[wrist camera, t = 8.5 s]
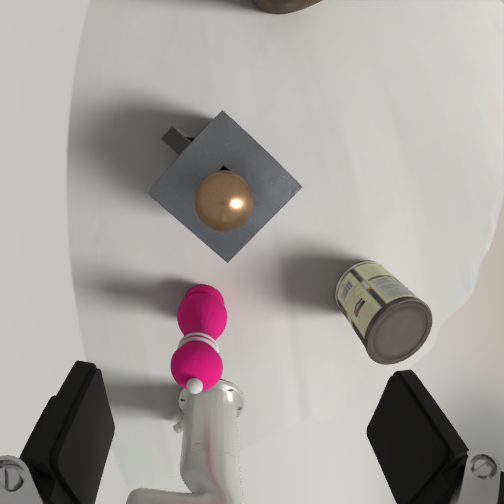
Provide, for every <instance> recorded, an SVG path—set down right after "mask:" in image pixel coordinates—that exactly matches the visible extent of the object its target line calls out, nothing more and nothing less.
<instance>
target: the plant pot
mask: <svg viewBox="0 0 504 504" xmlns="http://www.w3.org/2000/svg"><path fill="white" fill-rule="evenodd" d="M252 1H253V2H254V3H255V4H256V5H257V6H258V7H259V8H260V9H262V10H264V11H266V12H268V13H272V14H287V13H291V12H295V11H299V10H302V9H304V8H307V7H309V6H312V5H314V4H316V3H318V2H320V1H322V0H252Z"/></svg>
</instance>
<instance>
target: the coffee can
mask: <svg viewBox="0 0 504 504" xmlns="http://www.w3.org/2000/svg"><path fill="white" fill-rule="evenodd" d="M335 298H336V302H337V305H338V307H339V308H340V309H341V310H342V312H343V313H344V315H345V317H346V318H347V320H348V321H349V323H350V324H351V326H352V327H353V329H354V330H355V332H356V334H357V335H358V337H359V338H360V340H361V341H362V343H363V345H364V346H365V348H366V351H367V353H368V355H369V356H370V358H371V359H372V360H374V361H375V362H377V363H379V364H385V365H388V364H395V363H398V362H401V361H403V360H405V359H407V358H409V357H410V356H412V355H413V354H414V353H415V352H416V351H418V350H419V348H420V347H421V346H422V345H423V344H424V342H425V341H426V339H427V337H428V335H429V333H430V330H431V327H432V313H431V310H430V308H429V307H428V305H427V304H426V303H424V302H423V301H422V300H420V299H419V298H418V297H417V296H415V295H414V294H413V293H412V292H411V291H410V290H409V289H408V288H406V287H405V286H404V285H403V284H402V283H401V282H400V281H399V280H397V279H396V278H395V277H394V276H393V275H392V274H391V273H389V272H388V271H387V270H386V269H385V268H384V267H383V266H382V265H381V264H379V263H377V262H373V261H363V262H360V263H357V264H355V265H353V266H351V267H350V268H349V269H347V270H346V271H345V272H344V273H343V275H342V276H341V278H340V279H339V281H338V283H337V286H336V291H335Z"/></svg>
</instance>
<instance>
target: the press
mask: <svg viewBox="0 0 504 504" xmlns="http://www.w3.org/2000/svg"><path fill="white" fill-rule="evenodd" d="M162 140H164V141H165V142H166V143H167V144H168V145H169V146H170V147H171V148H172V149H174V150H175V151H176V152H177V153H178V154H179V155H180V156H179V157H178V158H177V159H176V160H175V161H174V163H173V164H172V165H171V166H170V167H169V168H168V169H167V171H166V172H165V173H164V174H163V175H162V176H161V178H160V179H159V180H158V181H157V182H156V183H155V185H154V186H153V187H152V188H151V189H150V191H149V192H148V194H149V195H150V196H151V197H152V198H154V199H155V200H156V201H157V202H158V203H159V204H160V205H161V206H163V207H164V208H165V209H166V210H167V211H168V212H169V213H171V214H172V215H173V216H174V217H175V218H176V219H177V220H179V221H180V222H181V223H182V224H183V225H184V226H185V227H187V228H188V229H189V230H190V231H191V232H192V233H194V234H195V235H196V236H197V237H198V238H199V239H200V240H202V241H203V242H204V243H205V244H206V245H207V246H209V247H210V248H211V249H212V250H213V251H214V252H216V253H217V254H218V255H219V256H220V257H221V258H223V259H224V260H225V261H226V262H227V263H228V262H229V261H230V260H231V259H232V258H233V257H234V256H235V255H236V254H237V253H238V252H239V251H240V250H241V249H242V248H243V247H244V246H245V245H246V244H247V243H248V242H249V241H250V240H251V239H252V237H253V236H254V235H255V234H256V233H257V232H258V231H259V230H260V229H261V228H262V227H263V226H264V225H265V224H266V223H267V222H268V221H269V220H270V219H271V218H272V217H273V216H274V215H275V214H276V213H277V212H278V211H279V210H280V209H281V208H282V207H283V206H284V205H285V204H286V203H287V202H288V201H289V200H290V199H291V198H292V197H293V196H294V195H295V194H296V193H297V192H298V191H299V190H300V189H301V188H302V186H301V185H300V184H299V183H298V182H297V181H296V180H295V179H294V178H293V177H292V176H291V175H290V174H289V173H288V172H287V171H286V170H285V169H284V168H283V167H282V166H281V165H280V164H279V163H278V162H277V161H276V160H275V159H274V158H273V157H272V156H271V155H270V154H269V153H268V152H267V151H266V150H265V149H264V148H263V147H262V146H261V145H260V144H258V143H257V142H256V141H255V140H254V139H253V138H252V137H251V136H250V135H249V134H248V133H247V132H246V131H245V130H244V129H242V128H241V127H240V126H239V125H238V124H237V123H236V122H235V121H234V120H233V119H232V118H230V117H229V116H228V115H227V114H226V113H225V112H224V111H223V110H222V111H221V112H220V113H219V114H218V115H217V116H216V117H215V118H214V119H213V120H212V121H211V122H210V124H209V125H208V126H207V127H206V128H205V129H204V130H203V131H202V132H201V133H200V134H199V135H198V136H197V137H196V138H194V137H193V136H192V135H190V134H189V133H188V132H187V131H186V130H183V129H180V128H176V127H173V126H172V127H171V128H170V130H169V131H168V132H167V133H166V134H165V135H164V136H163V137H162ZM223 165H224V166H225V167H226V168H227V169H229V170H230V171H232V172H235V173H237V174H239V175H240V176H241V177H242V178H243V179H244V180H245V181H246V183H247V185H248V187H249V189H250V191H251V193H252V197H253V208H252V212H251V214H250V216H249V218H248V219H247V221H246V222H245V223H244V224H243V225H241V226H240V227H238V228H236V229H234V230H230V231H217V230H213V229H211V228H209V227H207V226H206V225H205V224H204V223H203V222H202V221H201V220H200V219H199V217H198V215H197V213H196V210H195V195H196V192H197V190H198V188H199V187H200V185H201V183H202V182H203V181H204V179H205V178H206V177H207V176H209V175H210V174H212V173H214V172H216V171H219V170H220V169H221V168H222V166H223Z"/></svg>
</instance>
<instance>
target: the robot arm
mask: <svg viewBox="0 0 504 504" xmlns="http://www.w3.org/2000/svg"><path fill="white" fill-rule="evenodd" d="M178 402H179V407H180V409H181V410H182V412H183V413H184V417H182V419H181V421H179V422H178V423H177V424H175V425H174V426H173V428H174V430H175V431H176V432H177V433H180V432H182V431H183V440H182V450H181V461H180V474H181V476H182V479H183V481H184V483H185V484H186V486H187V487H188V488H189V490H190V491H191V492H192V493H181V492H173V491H172V492H171V491H165V490H157V489H149V488H138V489H135V490H133V491H132V492H131V493H130V494H129V496H128V499H127V502H126V504H245V500H244V495H243V490H242V485H241V474H240V462H239V445H238V429H237V417H238V416H239V415H240V414H241V412H242V411H243V409H244V397H243V394H242V393H241V391H240V390H239V389H238V388H237V387H236V386H234V385H233V384H231V383H229V382H227V381H224V380H220V379H219V381H218V383H217V384H216V385H215V386H213V387H212V388H210V389H208V390H205V391H201V392H200V393H197V394H193V393H190V392H189V391H188V390H187V389H185V388H183V389H182V390H181V392H180V394H179V401H178ZM114 431H115V425H114V421H113V418H112V414H111V410H110V406H109V403H108V399H107V395H106V391H105V386H104V382H103V378H102V373H101V370H100V369H98V368H96V365H95V364H94V363H89V362H83V361H76V362H75V364H74V365H73V367H72V369H71V371H70V372H69V374H68V376H67V378H66V380H65V381H64V383H63V385H62V386H61V388H60V390H59V392H58V394H57V395H56V396H52V397H51V398H50V400H49V401H48V403H47V405H46V407H45V409H44V410H43V412H42V414H41V416H40V418H39V420H38V422H37V424H36V426H35V427H34V429H33V431H32V433H31V435H30V437H29V439H28V441H27V443H26V445H25V447H24V449H23V451H22V453H21V455H20V458H17V457H15V456H9V455H6V456H0V504H95V500H96V496H97V492H98V489H99V485H100V481H101V477H102V474H103V469H104V466H105V463H106V459H107V456H108V452H109V449H110V446H111V442H112V439H113V436H114ZM367 437H368V439H369V441H370V444H371V446H372V448H373V450H374V452H375V455H376V457H377V459H378V462H379V464H380V466H381V468H382V471H383V473H384V475H385V478H386V480H387V482H388V485H389V487H390V489H391V491H392V494H393V496H394V498H395V501H396V503H397V504H504V472H501V468H500V464H499V461H498V460H497V459H496V457H495V456H494V455H492V454H491V453H489V452H486V451H475V452H474V453H472V454H470V456H468V455H467V451H469V449H468V448H467V446H466V445H465V443H464V442H463V440H462V439H461V437H460V436H459V435H458V433H457V432H456V430H455V429H454V427H453V426H452V424H451V423H450V422H449V420H448V419H447V417H446V416H445V414H444V413H443V412H442V410H441V409H440V407H439V406H438V405H437V403H436V402H435V400H434V399H433V398H432V396H431V395H430V393H429V392H428V391H427V389H426V388H425V387H424V385H423V384H422V382H421V381H420V380H419V378H418V377H417V376H416V374H415V373H414V372H413V371H412V370H404V371H396V372H395V373H394V374H393V376H391V377H390V378H389V380H388V382H387V385H386V387H385V390H384V392H383V394H382V397H381V399H380V401H379V404H378V406H377V408H376V410H375V412H374V415H373V417H372V419H371V421H370V423H369V425H368V427H367Z"/></svg>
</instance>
